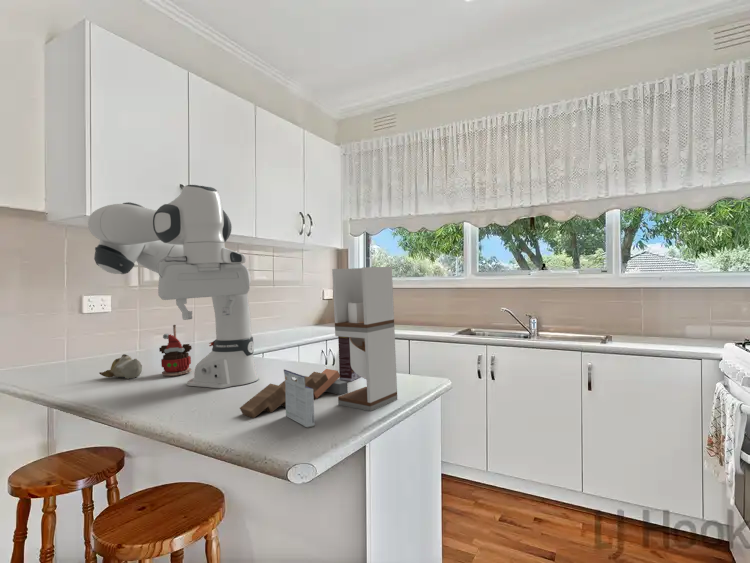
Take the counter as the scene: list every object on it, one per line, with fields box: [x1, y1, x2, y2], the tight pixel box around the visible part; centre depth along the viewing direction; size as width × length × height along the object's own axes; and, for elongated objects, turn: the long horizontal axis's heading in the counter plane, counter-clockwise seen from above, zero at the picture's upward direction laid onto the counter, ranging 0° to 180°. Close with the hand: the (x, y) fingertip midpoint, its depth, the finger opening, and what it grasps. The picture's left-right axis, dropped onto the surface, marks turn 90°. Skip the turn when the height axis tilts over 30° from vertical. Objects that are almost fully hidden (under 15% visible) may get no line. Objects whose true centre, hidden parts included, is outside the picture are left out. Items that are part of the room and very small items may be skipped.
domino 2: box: [263, 380, 286, 414], centre depth 114 cm, size 2×5×10 cm
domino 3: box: [280, 375, 315, 408], centre depth 118 cm, size 2×5×10 cm
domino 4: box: [308, 371, 328, 393], centre depth 121 cm, size 2×5×10 cm
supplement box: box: [337, 336, 362, 382], centre depth 142 cm, size 9×5×16 cm, turn 151°
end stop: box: [324, 379, 349, 396], centre depth 127 cm, size 3×10×3 cm, turn 47°
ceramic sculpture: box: [98, 354, 143, 380], centre depth 158 cm, size 11×9×15 cm
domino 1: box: [239, 383, 285, 419], centre depth 110 cm, size 2×5×10 cm
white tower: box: [331, 266, 398, 412], centre depth 115 cm, size 11×11×35 cm
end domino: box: [313, 368, 340, 400], centre depth 125 cm, size 2×5×10 cm
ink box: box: [283, 368, 316, 429], centre depth 102 cm, size 12×2×12 cm, turn 35°
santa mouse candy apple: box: [158, 324, 193, 377], centre depth 160 cm, size 11×9×18 cm
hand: (207, 317), depth 100 cm, fingers open, 8 cm apart
